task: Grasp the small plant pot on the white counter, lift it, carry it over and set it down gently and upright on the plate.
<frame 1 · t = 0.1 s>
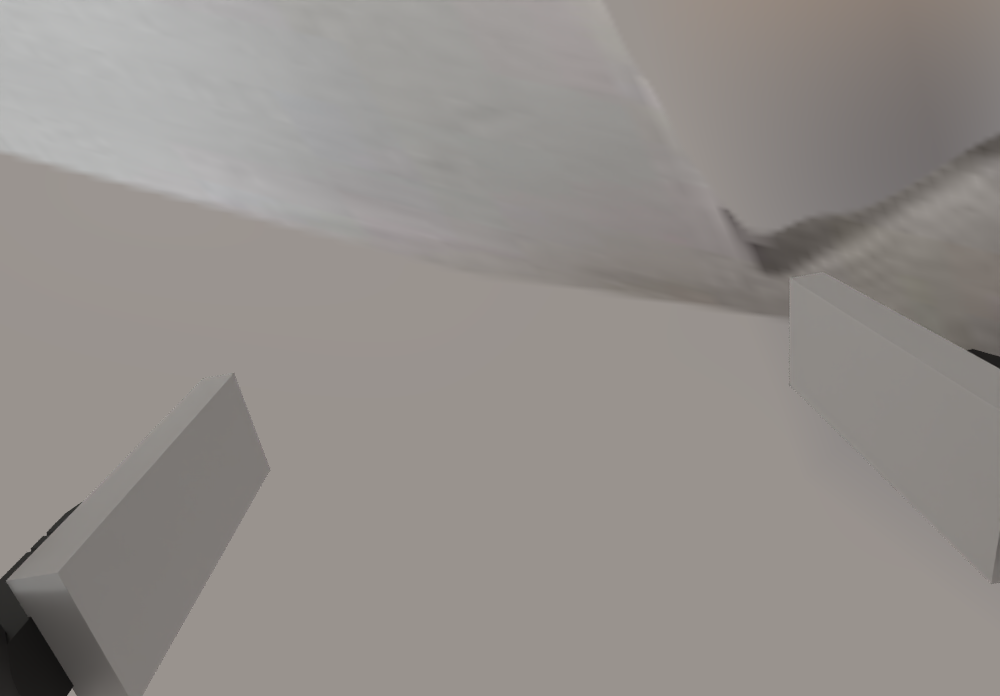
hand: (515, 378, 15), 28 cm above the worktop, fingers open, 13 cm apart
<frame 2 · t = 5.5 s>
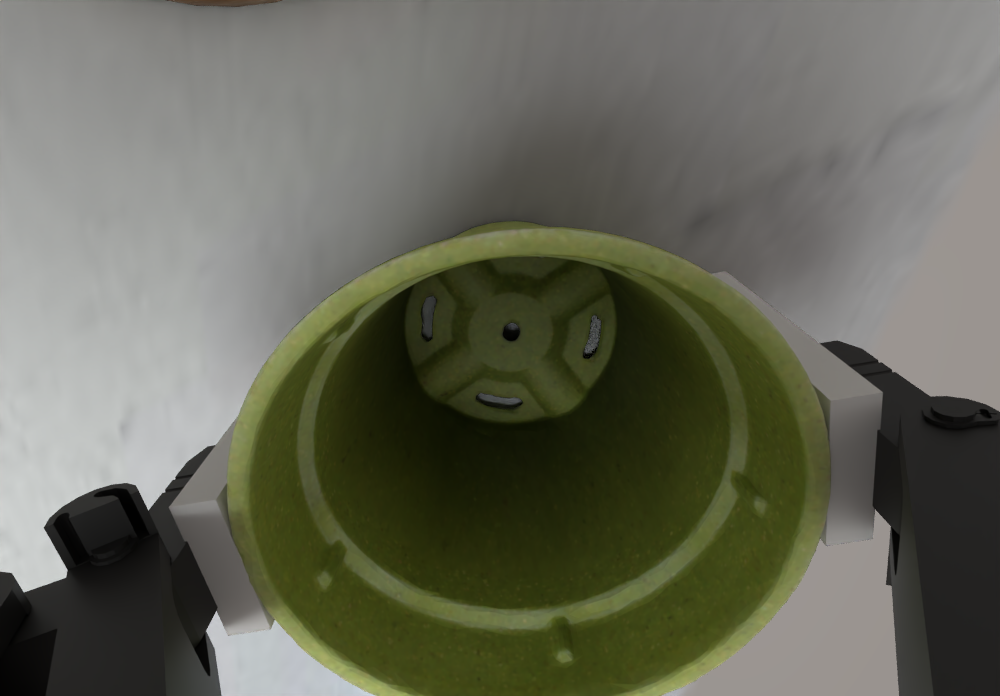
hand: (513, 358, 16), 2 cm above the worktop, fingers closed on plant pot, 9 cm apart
plant pot: (509, 326, 18), on the worktop, touching gripper
when the fingers open (4 cm above the worktop, at t = 11.3 s): plant pot stays where it is, resting on plate.
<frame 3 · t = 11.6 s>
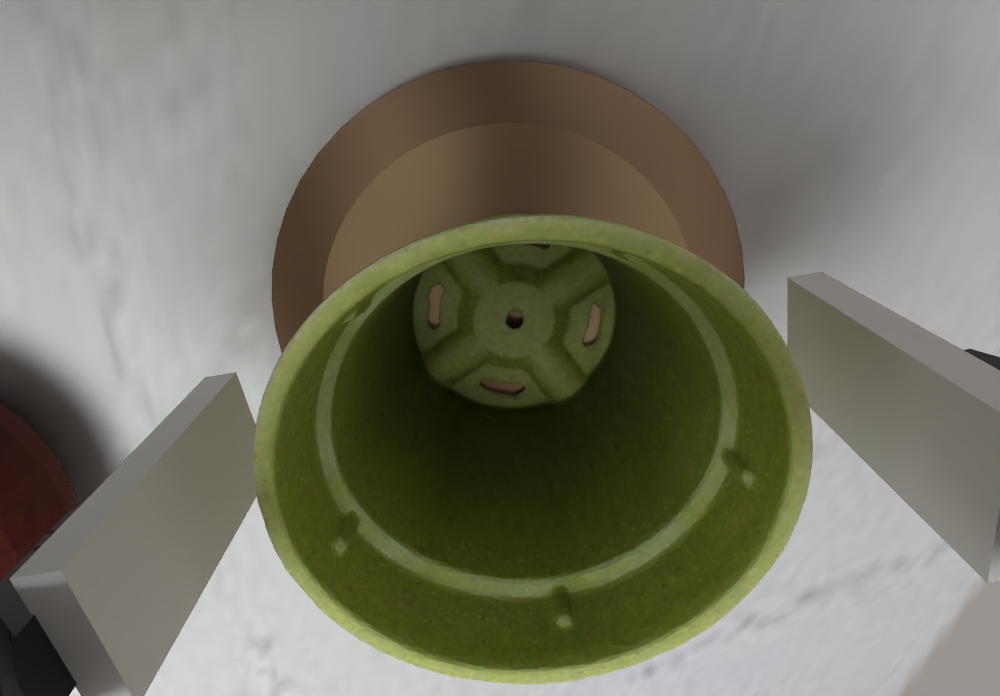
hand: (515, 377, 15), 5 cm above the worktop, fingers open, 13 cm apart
plant pot: (513, 315, 19), point 1 cm above the worktop, touching plate
plate: (508, 306, 20), on the worktop
potato: (16, 471, 22), on the worktop
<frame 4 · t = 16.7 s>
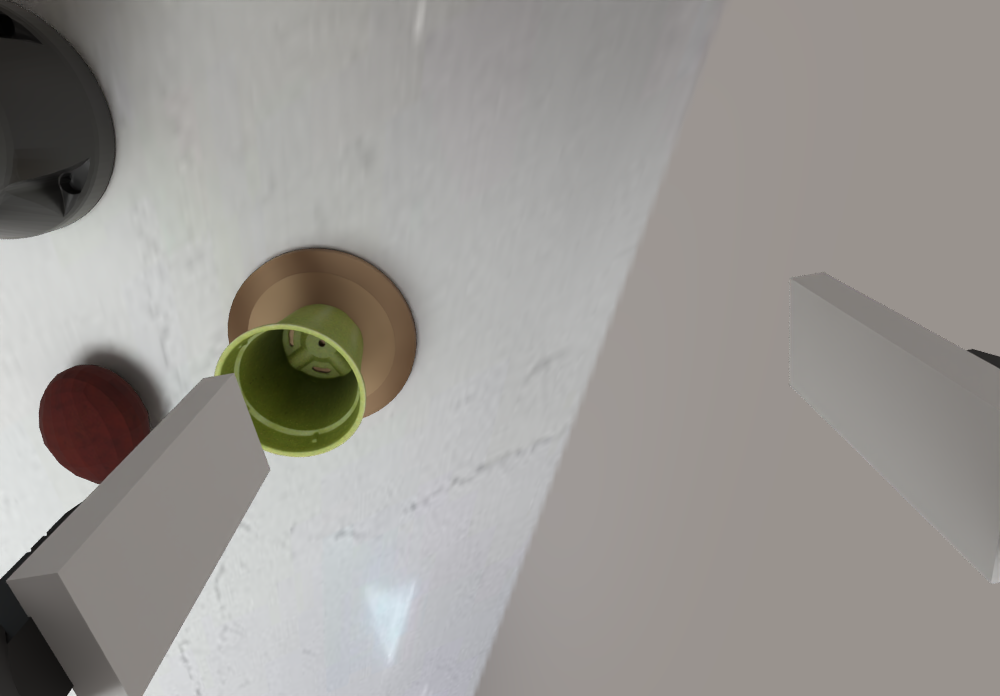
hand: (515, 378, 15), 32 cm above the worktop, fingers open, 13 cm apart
plant pot: (324, 341, 47), point 1 cm above the worktop, touching plate
plate: (325, 337, 48), on the worktop
potato: (120, 407, 51), on the worktop
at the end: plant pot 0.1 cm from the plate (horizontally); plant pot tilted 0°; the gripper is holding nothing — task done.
